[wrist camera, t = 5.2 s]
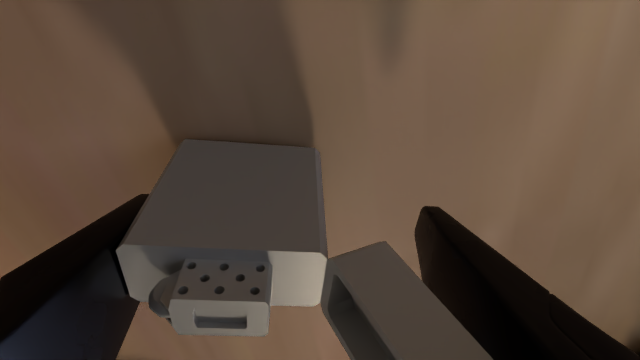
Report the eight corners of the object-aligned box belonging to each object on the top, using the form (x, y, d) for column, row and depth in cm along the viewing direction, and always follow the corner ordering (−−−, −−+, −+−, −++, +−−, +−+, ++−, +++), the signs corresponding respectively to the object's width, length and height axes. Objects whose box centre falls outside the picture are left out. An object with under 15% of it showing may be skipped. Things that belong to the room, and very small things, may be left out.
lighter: (185, 186, 11) (17, 543, 5) (179, 138, 10) (-47, 501, 4) (403, 199, 12) (529, 529, 5) (416, 154, 11) (590, 490, 4)
